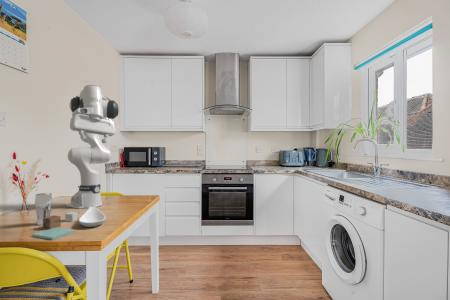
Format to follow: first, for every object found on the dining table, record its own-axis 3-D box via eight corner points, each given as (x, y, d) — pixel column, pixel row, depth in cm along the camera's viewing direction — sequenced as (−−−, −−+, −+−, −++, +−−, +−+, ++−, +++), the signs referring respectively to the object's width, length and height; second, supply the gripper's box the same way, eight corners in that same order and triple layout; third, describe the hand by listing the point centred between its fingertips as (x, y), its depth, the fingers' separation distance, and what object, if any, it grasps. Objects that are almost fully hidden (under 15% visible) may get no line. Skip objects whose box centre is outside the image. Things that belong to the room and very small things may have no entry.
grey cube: (65, 221, 131) (65, 213, 131) (70, 219, 135) (70, 212, 135) (72, 221, 131) (72, 214, 131) (77, 219, 135) (77, 212, 135)
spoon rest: (106, 227, 122) (106, 212, 122) (78, 231, 116) (78, 215, 116) (103, 216, 143) (103, 203, 143) (79, 218, 137) (79, 205, 137)
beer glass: (33, 226, 123) (33, 195, 123) (36, 222, 129) (36, 193, 129) (50, 224, 126) (50, 194, 126) (52, 221, 132) (52, 192, 132)
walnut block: (42, 228, 120) (42, 218, 120) (53, 225, 124) (53, 215, 124) (50, 229, 118) (50, 218, 118) (60, 226, 123) (60, 216, 123)
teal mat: (32, 236, 108) (32, 234, 108) (55, 229, 118) (55, 227, 118) (52, 239, 104) (52, 237, 104) (74, 232, 114) (74, 230, 114)
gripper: (110, 121, 134) (112, 146, 130) (68, 113, 118) (68, 140, 114) (116, 117, 130) (118, 142, 126) (73, 107, 114) (74, 136, 110)
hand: (94, 141), depth 120 cm, fingers open, 8 cm apart
